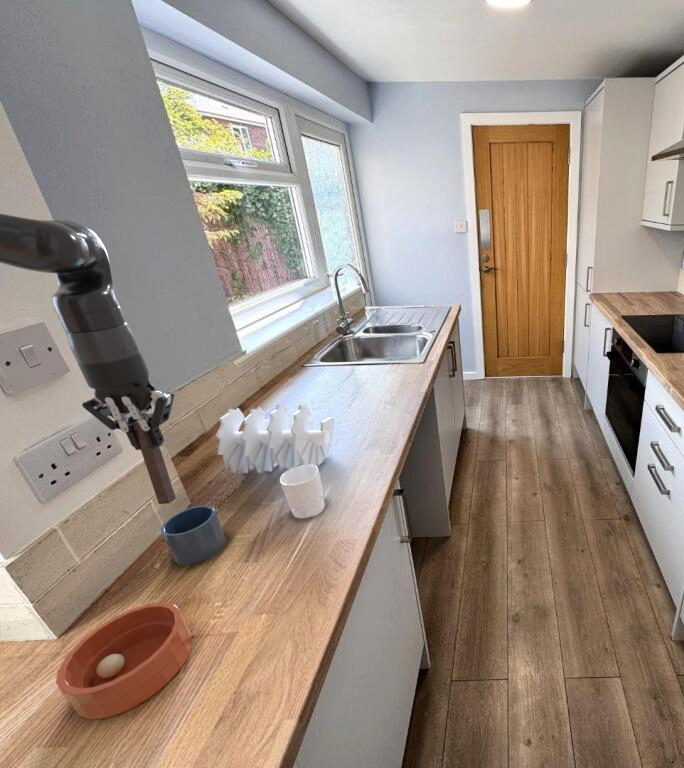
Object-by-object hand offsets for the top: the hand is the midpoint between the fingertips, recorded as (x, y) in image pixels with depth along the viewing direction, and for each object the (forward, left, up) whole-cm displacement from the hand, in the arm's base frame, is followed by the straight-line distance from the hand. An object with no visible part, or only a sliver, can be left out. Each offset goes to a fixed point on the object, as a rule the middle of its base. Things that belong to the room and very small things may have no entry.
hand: (149, 446), depth 71 cm
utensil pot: (-1, +2, -26) cm, 26 cm away
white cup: (+17, +12, -26) cm, 34 cm away
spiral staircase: (+4, +32, -26) cm, 42 cm away
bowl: (+4, -22, -26) cm, 35 cm away
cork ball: (+2, -23, -24) cm, 33 cm away
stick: (0, -1, -11) cm, 11 cm away
